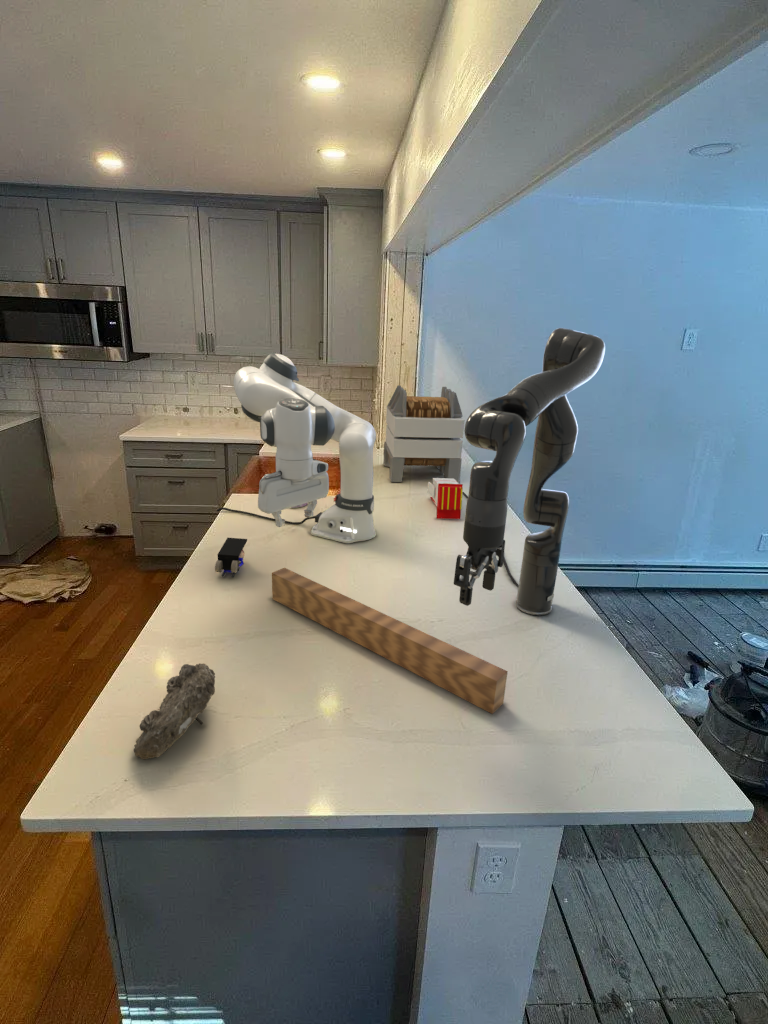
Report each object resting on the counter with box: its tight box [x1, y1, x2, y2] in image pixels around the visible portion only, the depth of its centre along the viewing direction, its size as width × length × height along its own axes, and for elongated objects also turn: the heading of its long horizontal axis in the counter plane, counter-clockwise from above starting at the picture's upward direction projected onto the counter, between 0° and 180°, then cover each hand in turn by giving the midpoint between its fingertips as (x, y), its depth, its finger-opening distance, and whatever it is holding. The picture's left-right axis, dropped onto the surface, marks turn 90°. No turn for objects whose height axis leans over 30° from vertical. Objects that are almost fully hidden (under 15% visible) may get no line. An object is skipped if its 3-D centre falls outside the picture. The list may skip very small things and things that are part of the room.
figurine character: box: [214, 537, 248, 578], centre depth 166 cm, size 7×8×15 cm
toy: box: [427, 477, 464, 520], centre depth 227 cm, size 12×13×30 cm
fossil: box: [133, 663, 216, 760], centre depth 105 cm, size 22×10×15 cm
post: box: [271, 567, 508, 715], centre depth 132 cm, size 67×4×8 cm, turn 50°
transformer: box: [383, 384, 466, 484], centre depth 268 cm, size 34×33×41 cm
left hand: (294, 521), depth 141 cm, fingers open, 8 cm apart
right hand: (476, 596), depth 110 cm, fingers open, 8 cm apart
